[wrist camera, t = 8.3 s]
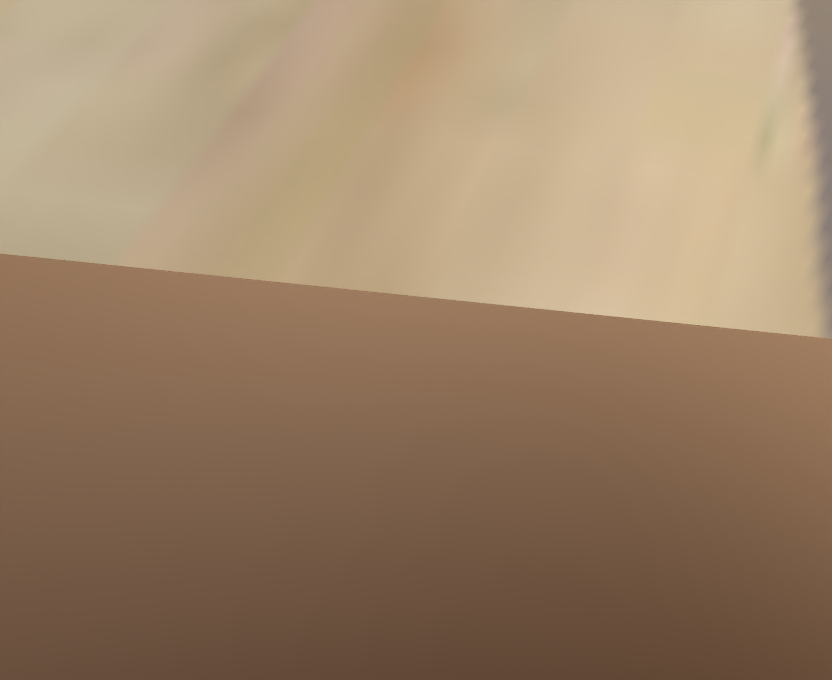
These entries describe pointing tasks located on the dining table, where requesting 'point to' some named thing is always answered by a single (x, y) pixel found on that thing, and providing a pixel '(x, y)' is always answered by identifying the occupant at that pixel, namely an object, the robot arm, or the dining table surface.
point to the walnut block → (400, 487)
